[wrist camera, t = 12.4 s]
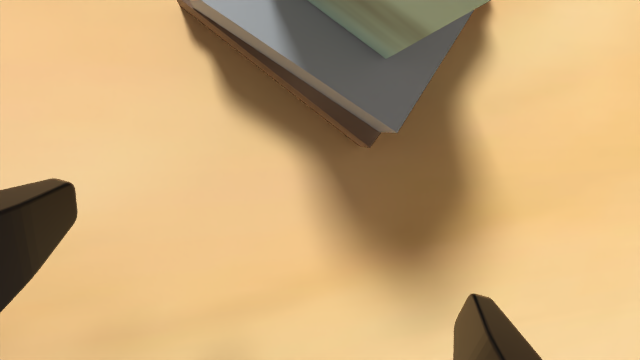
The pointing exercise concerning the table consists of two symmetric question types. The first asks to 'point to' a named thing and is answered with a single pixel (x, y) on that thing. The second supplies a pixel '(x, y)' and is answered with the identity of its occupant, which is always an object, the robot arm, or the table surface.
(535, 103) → the table surface
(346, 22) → the sage green block
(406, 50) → the slate grey top slab
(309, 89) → the walnut base slab
